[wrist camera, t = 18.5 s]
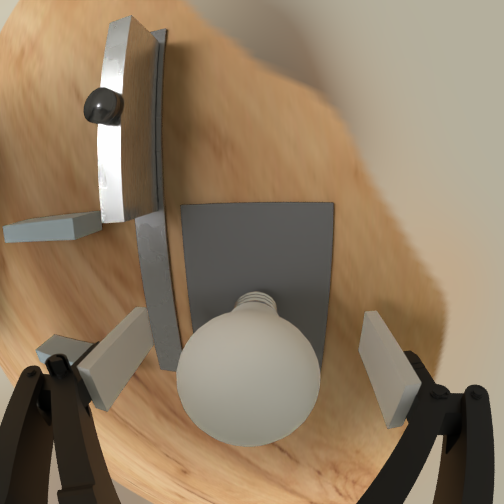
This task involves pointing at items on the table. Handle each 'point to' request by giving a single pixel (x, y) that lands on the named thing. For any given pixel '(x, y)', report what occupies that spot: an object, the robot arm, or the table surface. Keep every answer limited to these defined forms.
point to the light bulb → (248, 374)
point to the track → (159, 248)
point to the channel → (52, 231)
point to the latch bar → (126, 122)
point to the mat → (260, 260)
